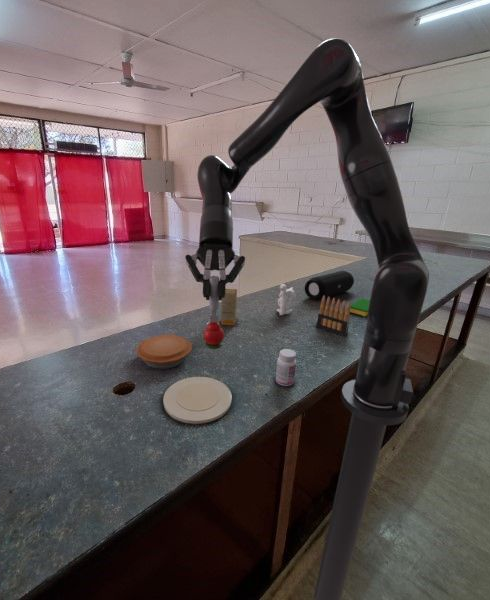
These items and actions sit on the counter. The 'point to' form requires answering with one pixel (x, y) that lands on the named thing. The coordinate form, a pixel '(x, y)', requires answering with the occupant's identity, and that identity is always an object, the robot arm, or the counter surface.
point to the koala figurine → (285, 299)
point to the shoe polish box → (229, 307)
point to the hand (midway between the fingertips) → (214, 298)
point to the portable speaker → (329, 284)
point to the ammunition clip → (334, 316)
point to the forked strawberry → (214, 318)
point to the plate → (197, 400)
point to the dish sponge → (360, 307)
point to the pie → (164, 351)
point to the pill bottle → (286, 367)
